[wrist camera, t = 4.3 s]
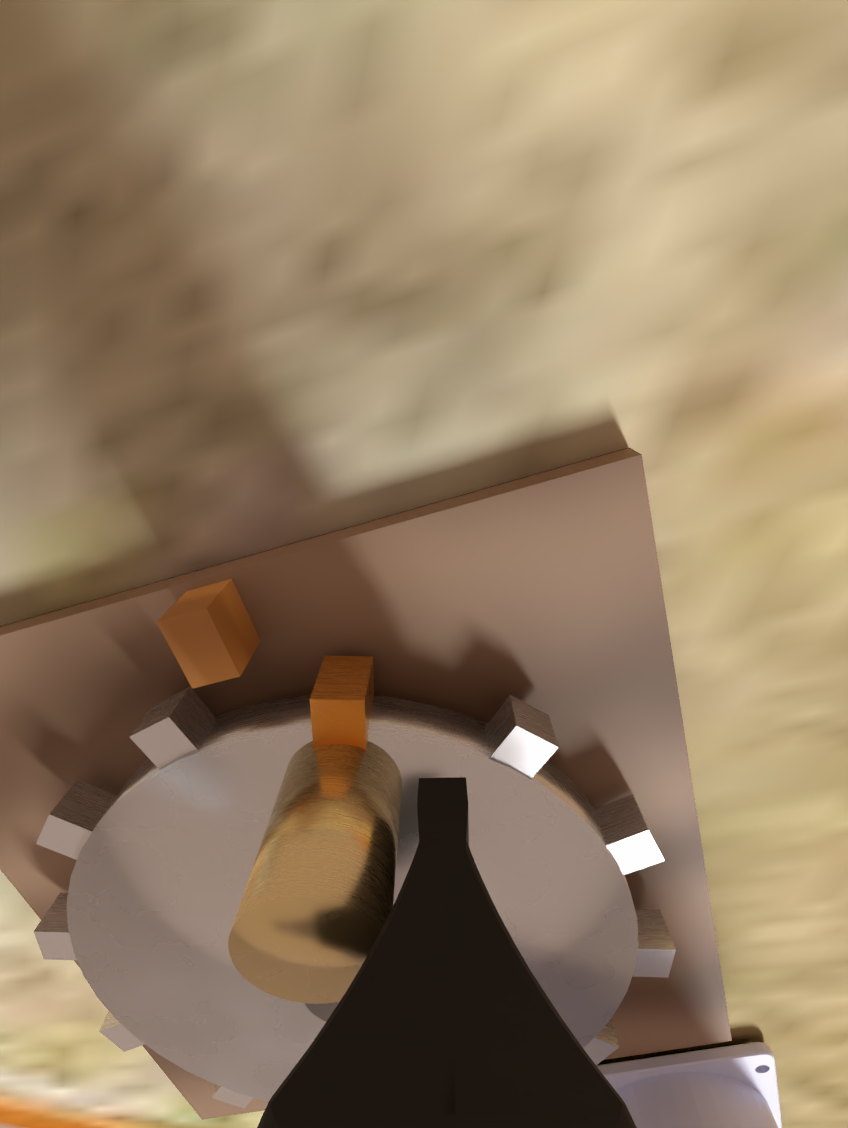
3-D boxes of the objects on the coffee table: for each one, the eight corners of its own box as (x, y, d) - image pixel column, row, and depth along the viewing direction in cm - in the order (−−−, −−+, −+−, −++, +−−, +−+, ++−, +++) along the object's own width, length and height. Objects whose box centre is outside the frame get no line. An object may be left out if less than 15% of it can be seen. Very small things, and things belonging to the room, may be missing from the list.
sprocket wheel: (612, 1086, 21) (670, 1334, 15) (122, 1071, 21) (21, 1310, 16) (718, 664, 14) (886, 859, 9) (-16, 647, 14) (-277, 827, 9)
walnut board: (721, 1015, 21) (755, 1096, 19) (209, 1094, 23) (185, 1174, 21) (629, 447, 13) (670, 470, 11) (-125, 662, 16) (-219, 717, 13)
